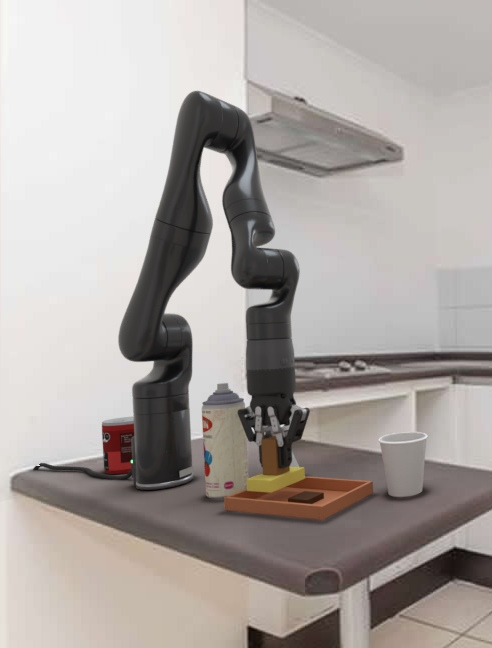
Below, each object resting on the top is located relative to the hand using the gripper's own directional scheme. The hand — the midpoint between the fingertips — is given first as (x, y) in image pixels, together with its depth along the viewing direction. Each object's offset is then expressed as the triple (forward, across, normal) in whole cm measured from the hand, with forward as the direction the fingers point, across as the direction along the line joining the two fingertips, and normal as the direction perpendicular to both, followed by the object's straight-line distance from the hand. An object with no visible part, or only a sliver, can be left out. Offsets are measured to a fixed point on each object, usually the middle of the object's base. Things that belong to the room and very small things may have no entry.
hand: (275, 466), depth 94 cm
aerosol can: (+6, +12, -1) cm, 13 cm away
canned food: (+6, +50, -10) cm, 51 cm away
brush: (+3, 0, 0) cm, 3 cm away
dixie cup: (+6, -20, -8) cm, 22 cm away
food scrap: (+6, -6, 0) cm, 8 cm away
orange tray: (+6, -5, 0) cm, 8 cm away
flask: (+6, +9, -11) cm, 15 cm away
